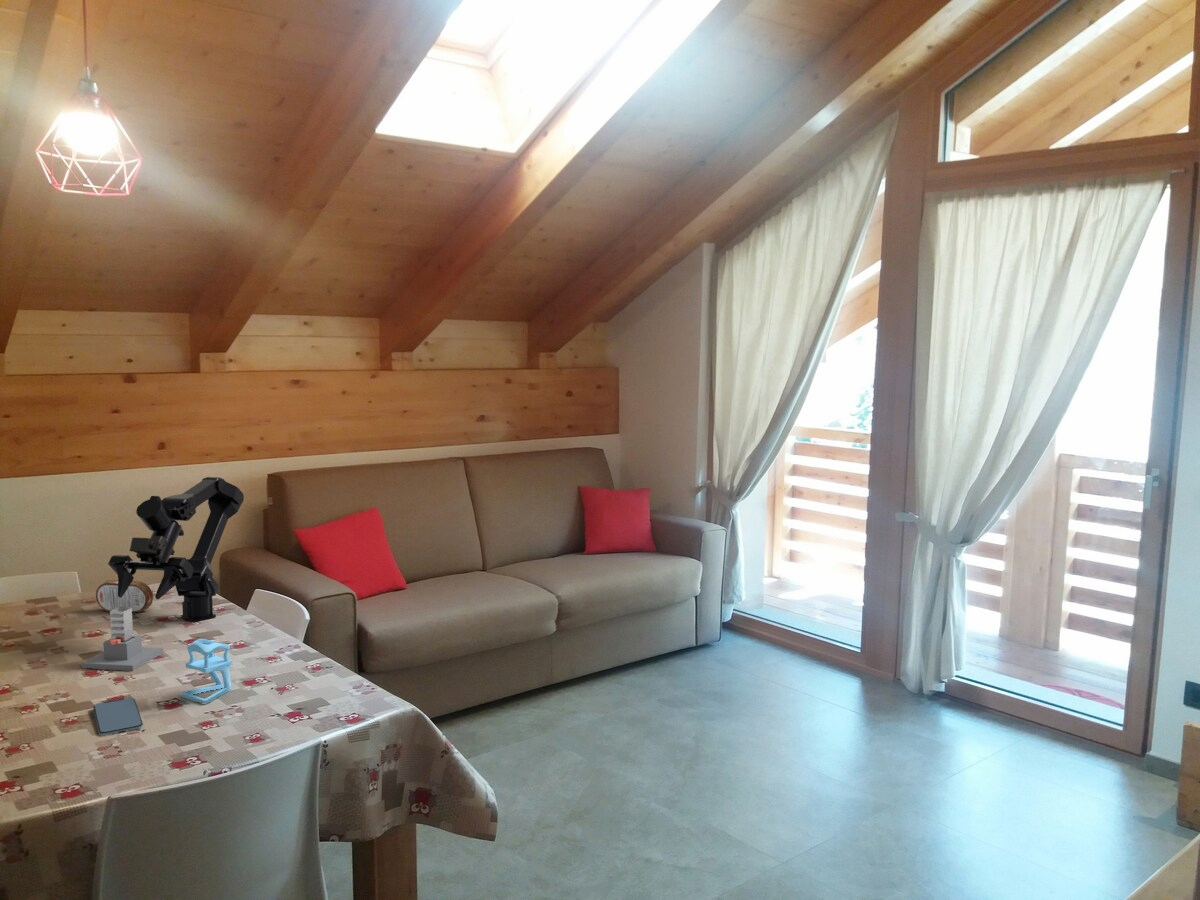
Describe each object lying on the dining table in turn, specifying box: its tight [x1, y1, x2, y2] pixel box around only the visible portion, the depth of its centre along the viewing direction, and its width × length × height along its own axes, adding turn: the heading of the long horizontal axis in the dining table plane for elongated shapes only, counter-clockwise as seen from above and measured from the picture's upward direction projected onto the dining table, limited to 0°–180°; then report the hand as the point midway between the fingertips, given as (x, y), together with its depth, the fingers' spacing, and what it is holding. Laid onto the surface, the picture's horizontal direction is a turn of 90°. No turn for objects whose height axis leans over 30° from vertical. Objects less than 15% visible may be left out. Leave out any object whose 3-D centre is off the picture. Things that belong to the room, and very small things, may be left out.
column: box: [109, 607, 134, 642], centre depth 213 cm, size 4×3×10 cm
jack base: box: [81, 635, 164, 672], centre depth 214 cm, size 12×12×6 cm
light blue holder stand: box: [181, 638, 233, 704], centre depth 194 cm, size 8×8×12 cm
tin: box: [95, 579, 154, 613], centre depth 251 cm, size 15×3×8 cm, turn 84°
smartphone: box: [92, 697, 144, 737], centre depth 182 cm, size 8×2×15 cm
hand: (138, 597), depth 220 cm, fingers open, 9 cm apart
